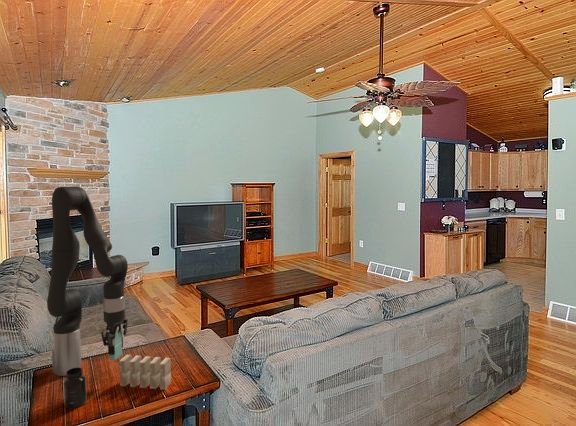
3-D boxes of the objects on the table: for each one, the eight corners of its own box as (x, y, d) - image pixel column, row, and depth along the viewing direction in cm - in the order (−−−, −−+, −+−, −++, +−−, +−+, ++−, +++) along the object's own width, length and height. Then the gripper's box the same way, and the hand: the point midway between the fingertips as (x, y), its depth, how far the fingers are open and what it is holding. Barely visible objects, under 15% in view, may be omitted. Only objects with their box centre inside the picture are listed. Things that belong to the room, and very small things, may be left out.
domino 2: (120, 386, 142) (119, 360, 141) (127, 379, 147) (126, 354, 146) (125, 386, 142) (124, 361, 141) (132, 379, 147) (131, 355, 146)
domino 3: (130, 386, 142) (129, 361, 141) (136, 379, 146) (136, 355, 146) (135, 387, 141) (134, 361, 140) (141, 380, 146) (141, 355, 145)
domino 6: (160, 389, 140) (159, 363, 139) (166, 382, 145) (165, 357, 144) (165, 390, 140) (164, 364, 139) (171, 382, 145) (170, 358, 144)
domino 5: (150, 388, 141) (149, 363, 140) (156, 381, 146) (155, 356, 145) (155, 389, 140) (154, 363, 139) (161, 381, 145) (160, 357, 144)
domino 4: (140, 387, 141) (139, 362, 140) (146, 380, 146) (146, 356, 145) (145, 388, 141) (144, 362, 140) (151, 381, 146) (151, 356, 145)
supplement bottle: (70, 398, 134) (69, 365, 133) (90, 397, 134) (89, 365, 133) (60, 409, 127) (59, 376, 126) (81, 409, 128) (80, 375, 127)
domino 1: (109, 359, 142) (109, 334, 141) (117, 353, 147) (116, 329, 146) (114, 360, 141) (114, 334, 140) (122, 354, 146) (121, 329, 145)
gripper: (116, 301, 150) (117, 342, 151) (93, 314, 136) (95, 359, 137) (133, 302, 149) (134, 343, 150) (112, 315, 135) (114, 360, 136)
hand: (115, 350), depth 144 cm, fingers closed on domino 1, 5 cm apart
